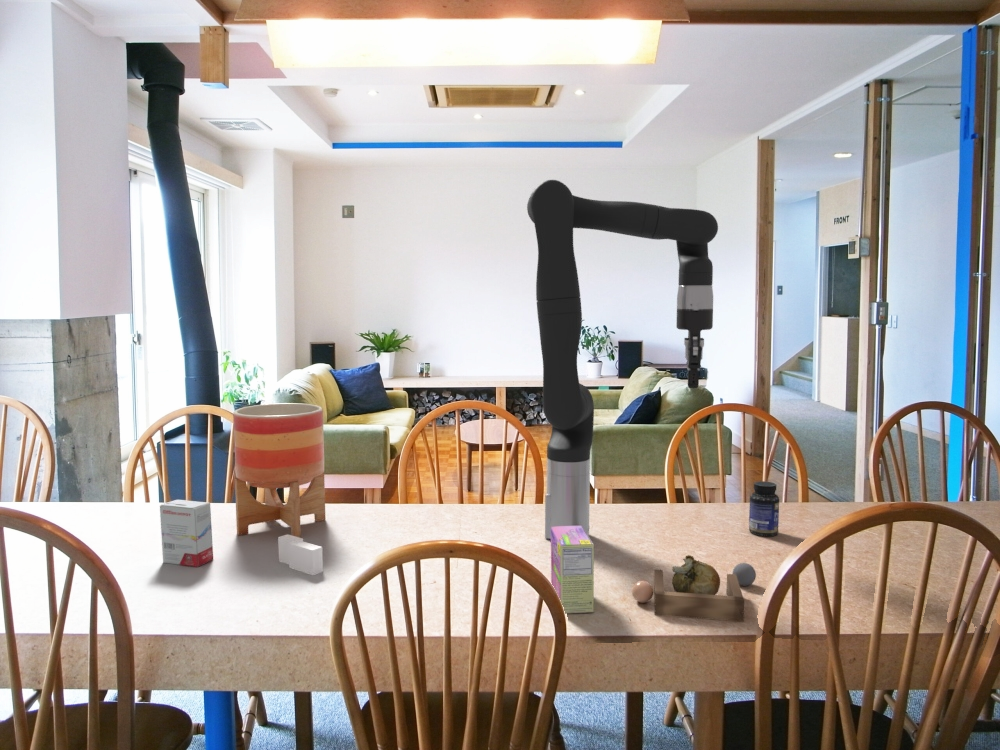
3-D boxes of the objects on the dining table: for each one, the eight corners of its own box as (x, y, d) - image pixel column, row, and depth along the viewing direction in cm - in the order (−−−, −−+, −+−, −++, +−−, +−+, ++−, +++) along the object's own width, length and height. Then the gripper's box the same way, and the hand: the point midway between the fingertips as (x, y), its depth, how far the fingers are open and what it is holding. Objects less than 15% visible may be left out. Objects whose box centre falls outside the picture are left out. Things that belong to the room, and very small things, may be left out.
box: (550, 590, 136) (550, 525, 135) (581, 589, 136) (582, 524, 135) (559, 615, 126) (560, 545, 124) (593, 613, 126) (594, 544, 125)
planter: (341, 530, 170) (338, 410, 167) (251, 547, 159) (246, 419, 156) (309, 509, 186) (306, 400, 184) (225, 523, 175) (220, 407, 172)
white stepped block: (333, 578, 143) (333, 548, 142) (270, 584, 140) (269, 554, 139) (329, 552, 157) (328, 525, 157) (271, 557, 154) (270, 529, 154)
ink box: (214, 559, 152) (212, 501, 150) (197, 568, 147) (194, 508, 146) (179, 554, 154) (176, 497, 153) (161, 562, 150) (158, 504, 149)
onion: (717, 612, 127) (719, 565, 126) (668, 605, 129) (669, 559, 128) (721, 595, 134) (722, 550, 133) (674, 589, 136) (675, 545, 136)
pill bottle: (780, 538, 164) (782, 487, 163) (750, 536, 166) (752, 486, 164) (775, 529, 170) (777, 480, 169) (747, 527, 172) (748, 479, 170)
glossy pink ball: (631, 605, 129) (631, 584, 129) (631, 597, 133) (632, 576, 132) (653, 606, 129) (653, 586, 128) (652, 598, 132) (653, 578, 132)
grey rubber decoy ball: (733, 588, 137) (734, 566, 136) (731, 580, 140) (731, 559, 140) (757, 590, 136) (757, 568, 135) (753, 581, 140) (754, 560, 139)
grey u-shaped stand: (654, 614, 125) (655, 594, 125) (653, 588, 137) (654, 569, 136) (743, 621, 123) (744, 600, 123) (735, 593, 134) (735, 574, 134)
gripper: (675, 306, 170) (674, 383, 172) (677, 307, 158) (676, 391, 159) (710, 306, 169) (708, 384, 171) (715, 307, 156) (713, 392, 158)
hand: (693, 387), depth 165 cm, fingers closed
